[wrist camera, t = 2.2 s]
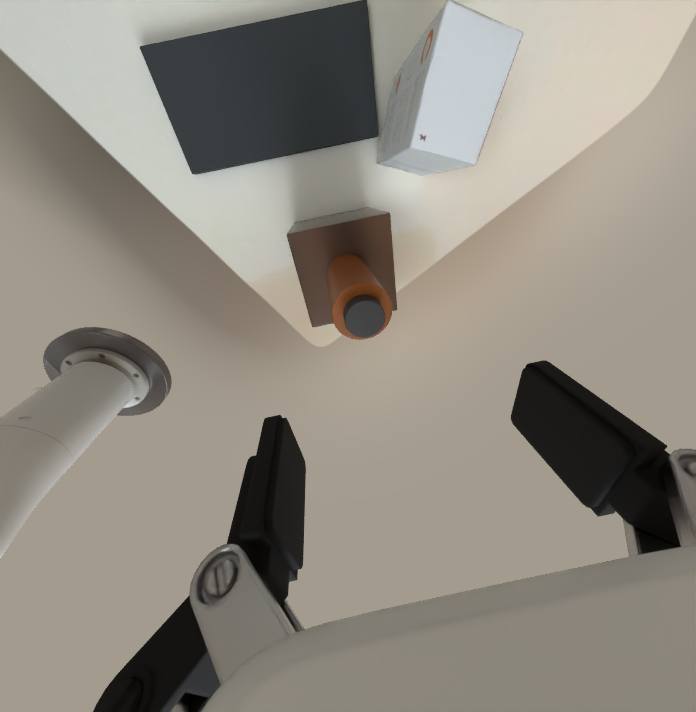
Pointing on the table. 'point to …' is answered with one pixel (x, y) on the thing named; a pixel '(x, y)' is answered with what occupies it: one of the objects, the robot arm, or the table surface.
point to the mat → (268, 87)
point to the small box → (447, 92)
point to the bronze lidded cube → (337, 237)
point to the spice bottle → (357, 298)
